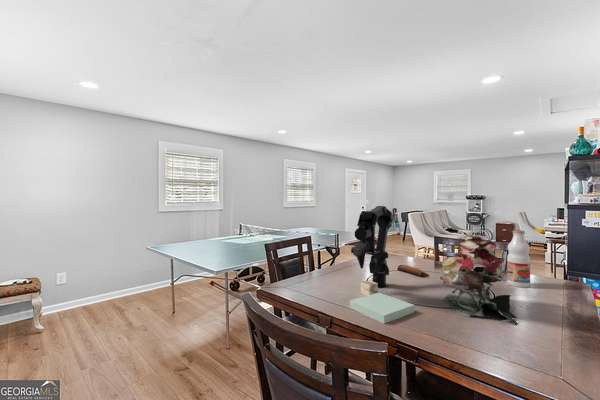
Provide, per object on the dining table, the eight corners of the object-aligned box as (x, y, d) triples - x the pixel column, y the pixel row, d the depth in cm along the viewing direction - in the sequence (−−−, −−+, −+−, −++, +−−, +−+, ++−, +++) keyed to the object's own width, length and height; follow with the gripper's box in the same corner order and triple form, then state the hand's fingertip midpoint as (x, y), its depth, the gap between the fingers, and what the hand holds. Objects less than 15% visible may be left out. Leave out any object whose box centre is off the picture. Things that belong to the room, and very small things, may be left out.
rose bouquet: (499, 298, 128) (499, 232, 128) (526, 327, 101) (527, 242, 100) (436, 292, 137) (436, 230, 136) (446, 317, 109) (445, 239, 109)
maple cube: (368, 291, 139) (368, 280, 139) (377, 294, 135) (377, 283, 135) (360, 293, 136) (360, 282, 136) (369, 297, 132) (369, 285, 132)
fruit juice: (514, 281, 153) (514, 229, 153) (534, 286, 145) (534, 231, 144) (503, 283, 150) (503, 230, 149) (522, 289, 141) (523, 232, 140)
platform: (379, 298, 129) (379, 292, 129) (414, 312, 114) (414, 304, 114) (349, 307, 119) (349, 300, 119) (383, 323, 104) (383, 315, 104)
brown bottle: (431, 275, 166) (427, 266, 164) (424, 283, 163) (420, 273, 161) (406, 268, 182) (402, 260, 180) (399, 275, 179) (395, 267, 177)
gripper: (342, 236, 139) (342, 268, 139) (371, 242, 123) (371, 278, 123) (359, 234, 145) (359, 265, 145) (388, 239, 129) (389, 273, 129)
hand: (368, 270), depth 136 cm, fingers open, 9 cm apart
